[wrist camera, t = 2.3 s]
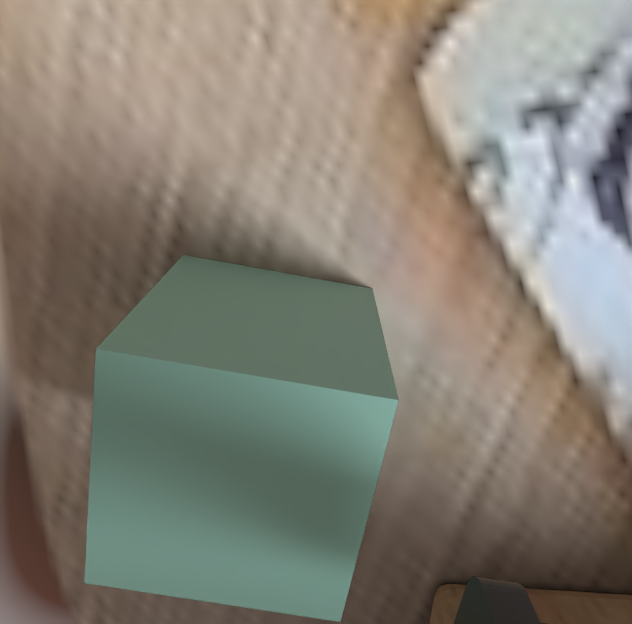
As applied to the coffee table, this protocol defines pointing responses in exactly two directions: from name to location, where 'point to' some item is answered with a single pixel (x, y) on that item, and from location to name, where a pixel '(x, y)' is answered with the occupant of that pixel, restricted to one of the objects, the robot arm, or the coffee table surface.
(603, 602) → the wooden block
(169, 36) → the coffee table surface
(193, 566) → the teal block
